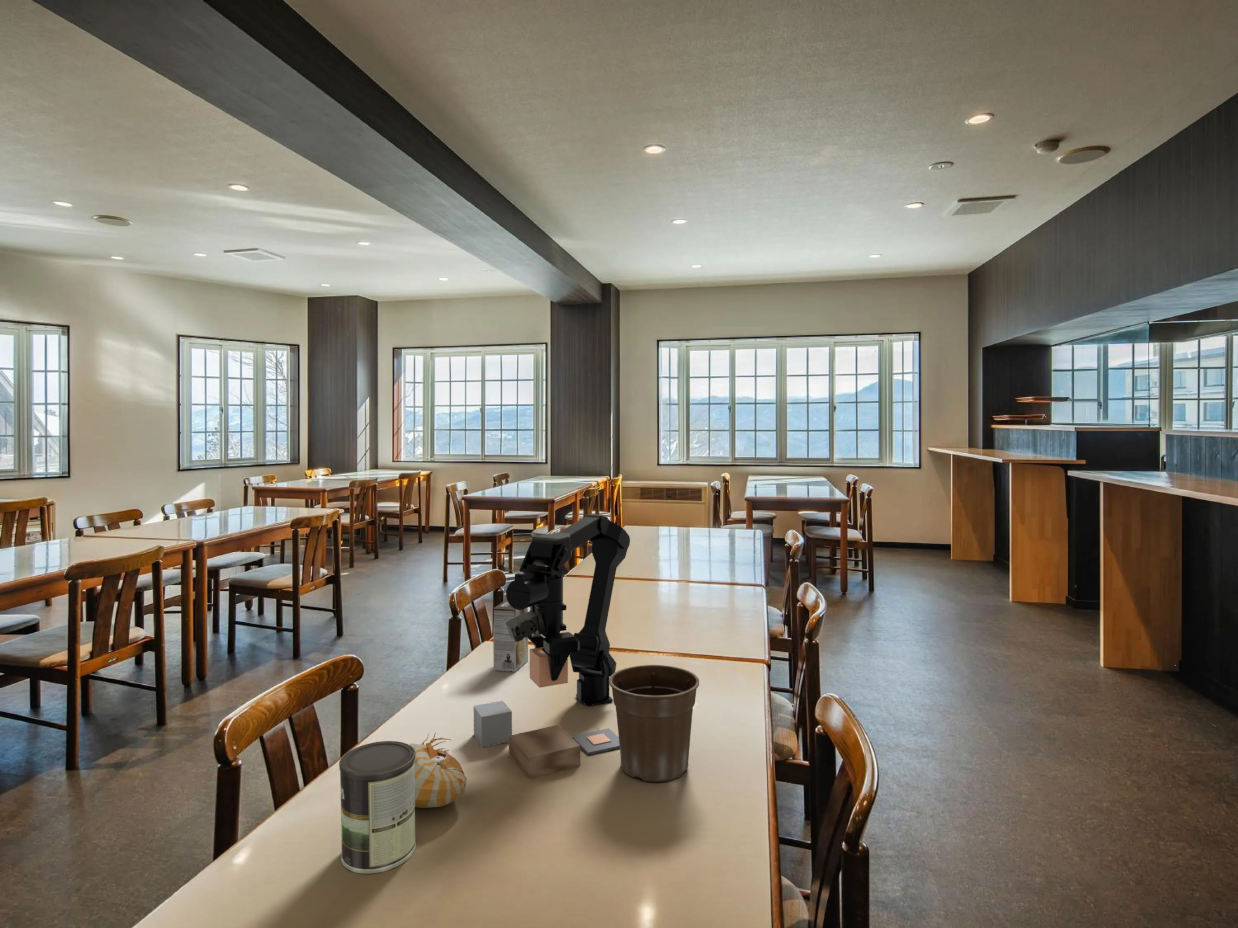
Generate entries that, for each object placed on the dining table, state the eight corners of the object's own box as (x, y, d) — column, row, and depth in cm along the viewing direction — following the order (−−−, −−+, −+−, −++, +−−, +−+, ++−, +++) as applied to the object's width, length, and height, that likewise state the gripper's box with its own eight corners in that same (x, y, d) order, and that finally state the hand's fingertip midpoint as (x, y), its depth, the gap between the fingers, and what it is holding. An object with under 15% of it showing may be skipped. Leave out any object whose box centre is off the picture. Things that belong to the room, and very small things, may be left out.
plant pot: (595, 754, 130) (595, 670, 129) (672, 739, 136) (672, 659, 136) (631, 797, 115) (631, 701, 114) (715, 777, 121) (716, 687, 121)
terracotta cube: (557, 673, 144) (557, 645, 144) (567, 682, 139) (567, 653, 139) (529, 677, 142) (529, 648, 142) (539, 687, 136) (539, 657, 136)
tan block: (557, 744, 135) (557, 724, 135) (580, 766, 126) (580, 745, 126) (509, 756, 130) (508, 735, 130) (528, 780, 121) (528, 757, 121)
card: (608, 730, 140) (608, 726, 140) (626, 746, 133) (626, 742, 133) (571, 737, 137) (571, 734, 137) (588, 755, 130) (588, 751, 130)
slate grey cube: (502, 729, 141) (502, 700, 141) (512, 741, 136) (511, 711, 135) (473, 735, 138) (473, 705, 138) (481, 747, 133) (481, 716, 133)
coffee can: (330, 876, 94) (328, 775, 94) (353, 832, 105) (351, 741, 104) (408, 872, 95) (406, 772, 95) (422, 829, 106) (421, 739, 105)
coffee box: (505, 658, 184) (505, 599, 183) (528, 660, 183) (528, 600, 182) (492, 670, 175) (492, 607, 174) (516, 672, 174) (516, 609, 173)
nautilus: (412, 761, 128) (491, 770, 127) (356, 819, 107) (450, 830, 105) (415, 718, 128) (493, 726, 127) (359, 767, 107) (454, 778, 105)
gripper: (496, 593, 145) (497, 666, 145) (524, 614, 128) (525, 697, 129) (547, 588, 149) (547, 659, 150) (580, 608, 133) (580, 688, 133)
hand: (548, 675), depth 140 cm, fingers closed on terracotta cube, 6 cm apart
